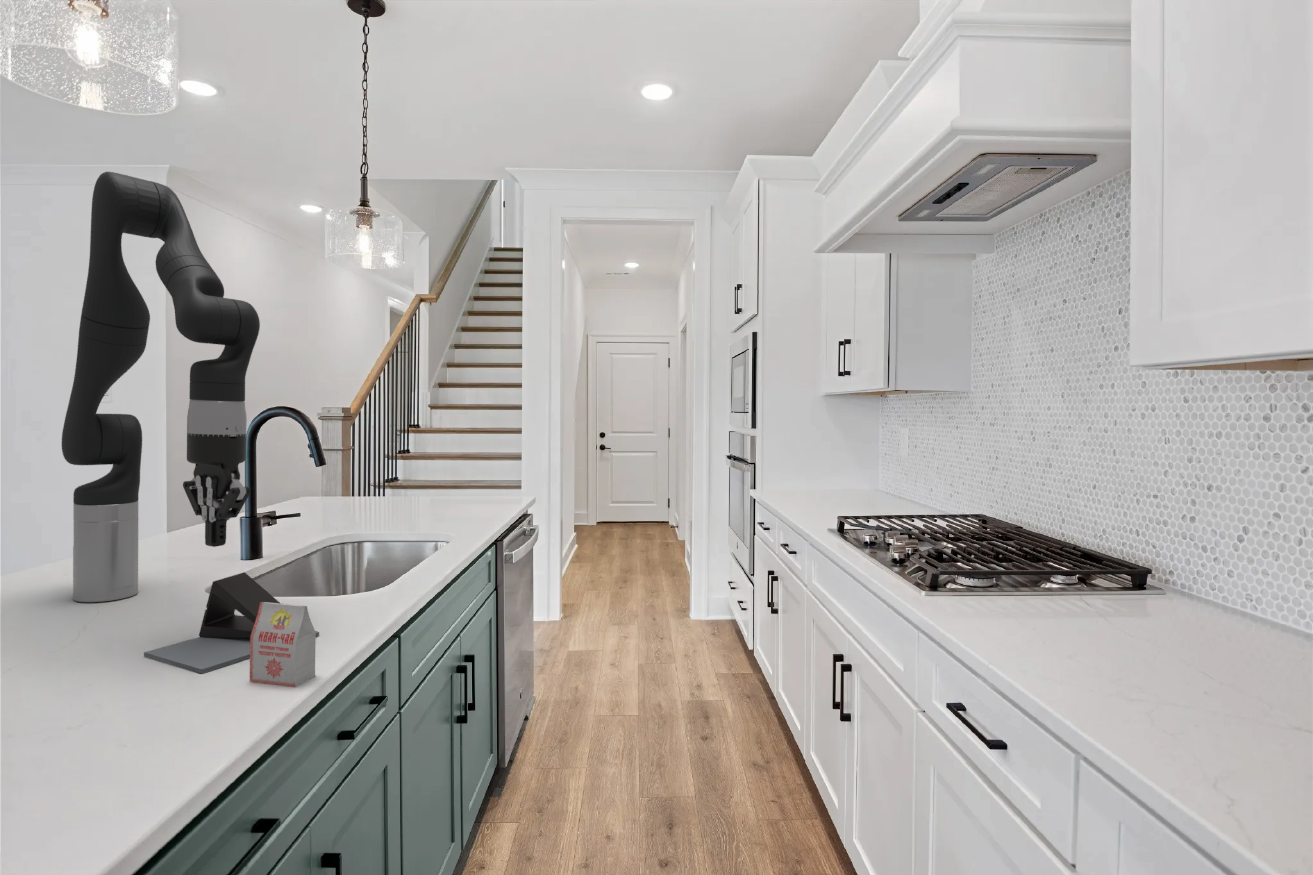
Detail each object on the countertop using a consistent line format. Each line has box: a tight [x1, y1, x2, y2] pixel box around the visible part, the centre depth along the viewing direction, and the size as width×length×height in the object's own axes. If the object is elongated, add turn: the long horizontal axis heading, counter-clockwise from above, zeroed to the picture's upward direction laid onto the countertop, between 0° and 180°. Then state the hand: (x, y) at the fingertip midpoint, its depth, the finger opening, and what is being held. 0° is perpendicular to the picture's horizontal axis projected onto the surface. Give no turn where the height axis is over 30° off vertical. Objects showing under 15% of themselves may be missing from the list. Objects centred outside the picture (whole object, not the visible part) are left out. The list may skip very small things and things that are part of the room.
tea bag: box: [249, 602, 317, 688], centre depth 90 cm, size 4×7×10 cm, turn 79°
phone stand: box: [198, 572, 282, 638], centre depth 105 cm, size 9×6×12 cm
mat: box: [143, 630, 320, 675], centre depth 102 cm, size 13×18×1 cm
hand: (215, 545), depth 104 cm, fingers closed
